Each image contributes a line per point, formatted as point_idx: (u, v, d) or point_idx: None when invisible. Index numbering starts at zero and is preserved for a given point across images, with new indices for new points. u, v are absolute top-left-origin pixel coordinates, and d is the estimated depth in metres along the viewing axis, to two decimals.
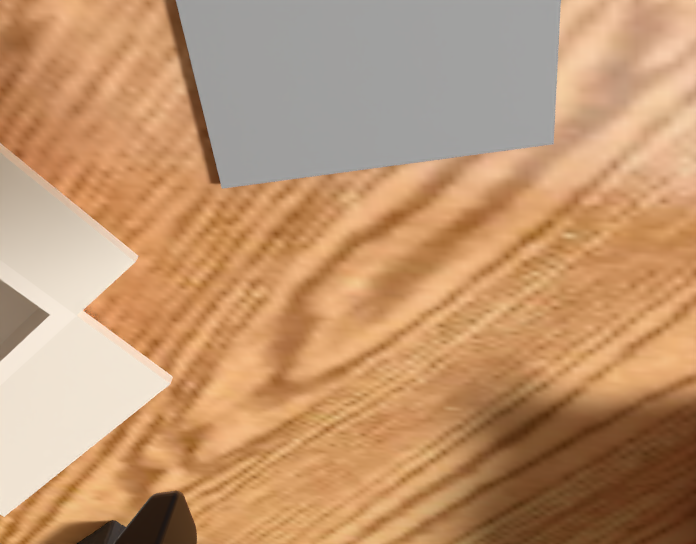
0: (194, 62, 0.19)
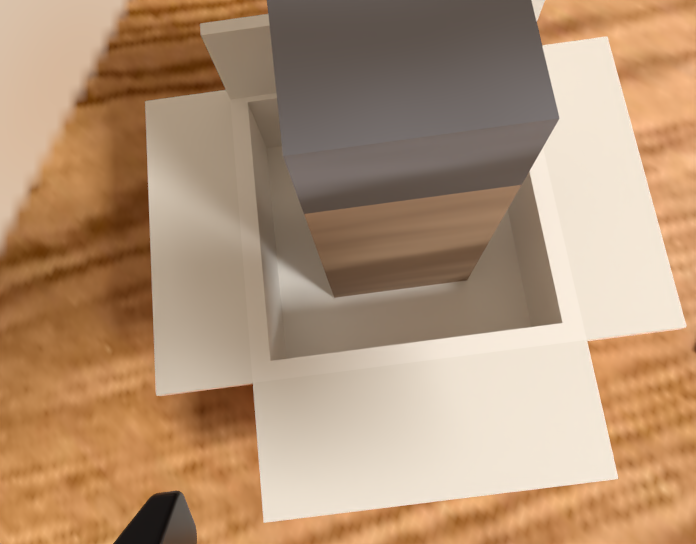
0: None
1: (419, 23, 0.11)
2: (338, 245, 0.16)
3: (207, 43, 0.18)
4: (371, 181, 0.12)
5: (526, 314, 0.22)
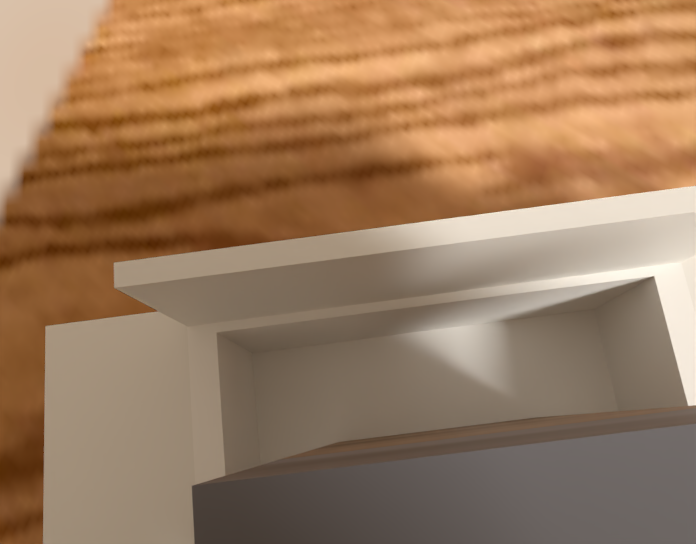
0: None
1: None
2: None
3: (130, 292, 0.09)
4: None
5: None
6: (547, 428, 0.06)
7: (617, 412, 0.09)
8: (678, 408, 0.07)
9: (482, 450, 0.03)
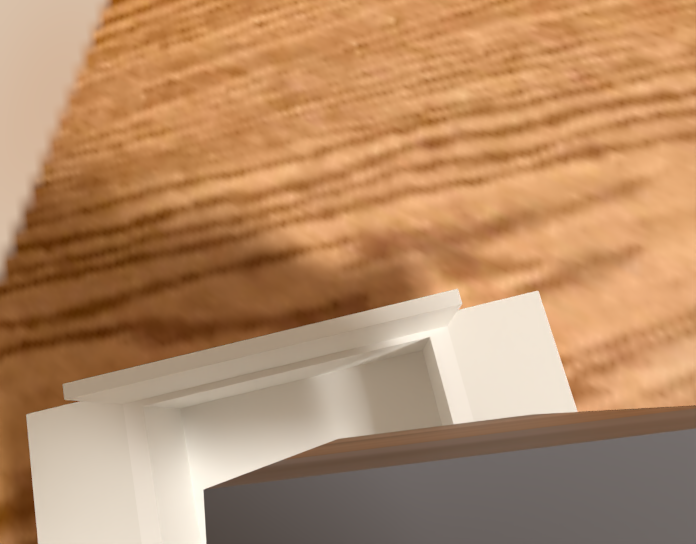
0: None
1: None
2: None
3: (75, 399, 0.15)
4: None
5: None
6: (536, 430, 0.06)
7: (607, 412, 0.09)
8: (664, 410, 0.07)
9: (471, 456, 0.04)
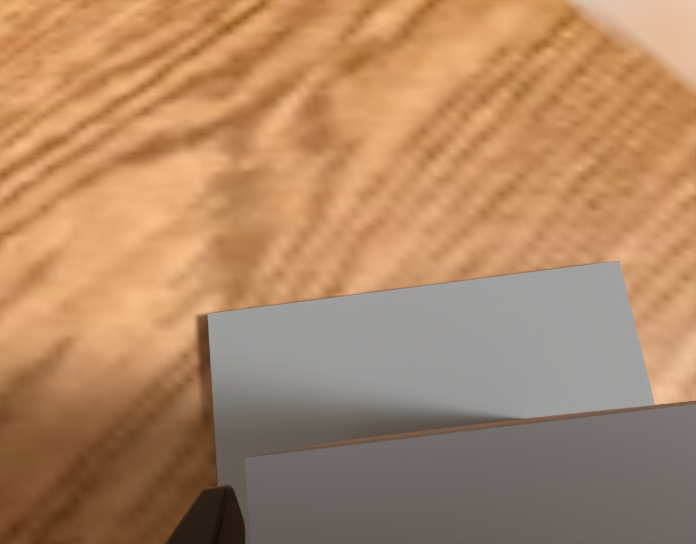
0: None
1: None
2: None
3: None
4: None
5: None
6: None
7: (586, 412, 0.10)
8: None
9: (453, 433, 0.05)
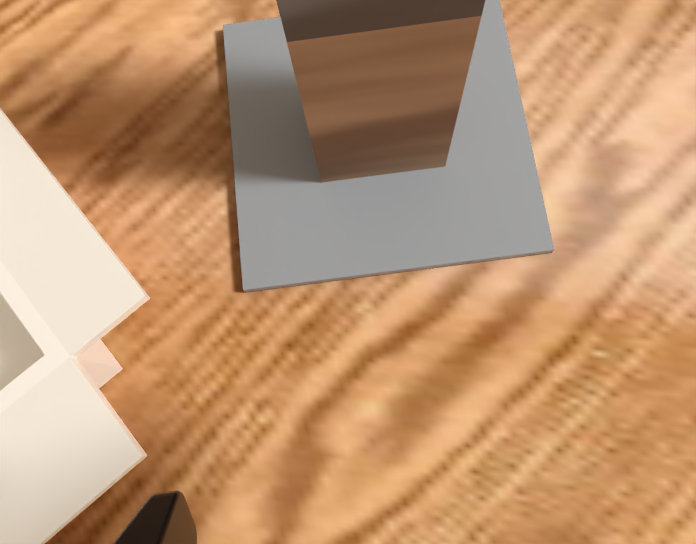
0: (237, 184, 0.24)
1: None
2: (320, 96, 0.18)
3: None
4: None
5: None
6: None
7: None
8: None
9: None
